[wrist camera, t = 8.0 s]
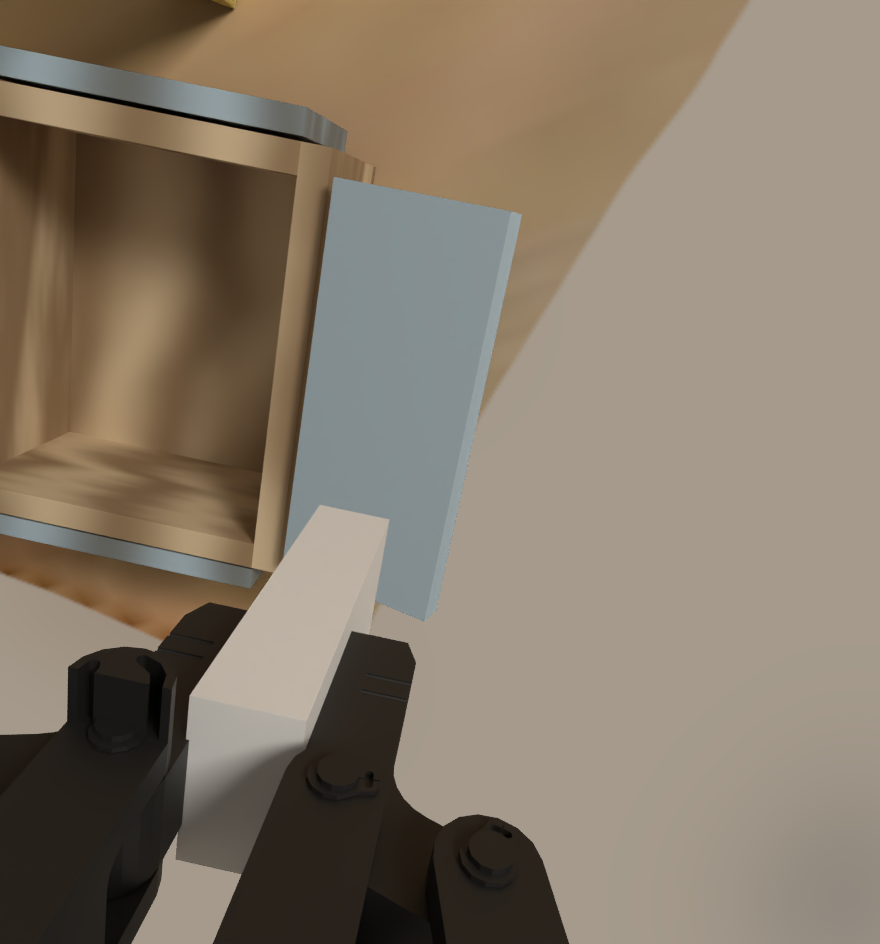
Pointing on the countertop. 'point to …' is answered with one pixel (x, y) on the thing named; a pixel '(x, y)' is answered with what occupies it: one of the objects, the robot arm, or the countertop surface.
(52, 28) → the countertop surface
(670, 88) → the countertop surface
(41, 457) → the carton
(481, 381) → the flap
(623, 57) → the countertop surface
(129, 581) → the countertop surface
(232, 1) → the candy box
